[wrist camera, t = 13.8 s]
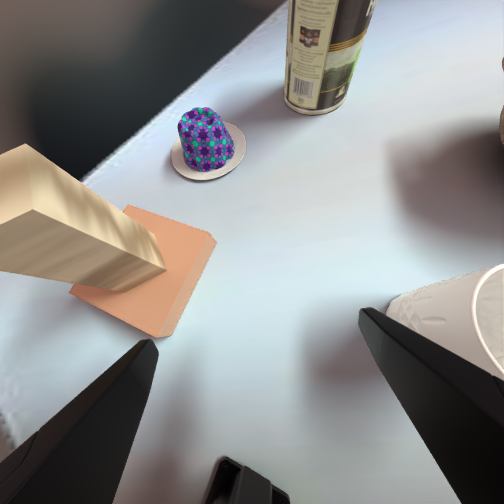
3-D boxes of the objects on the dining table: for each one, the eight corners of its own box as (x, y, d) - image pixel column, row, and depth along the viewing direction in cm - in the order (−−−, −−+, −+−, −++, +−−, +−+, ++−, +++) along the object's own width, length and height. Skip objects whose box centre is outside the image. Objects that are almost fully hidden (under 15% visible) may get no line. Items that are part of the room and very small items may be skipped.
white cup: (392, 372, 18) (518, 429, 9) (369, 290, 21) (447, 267, 12) (481, 367, 18) (713, 421, 8) (445, 283, 20) (592, 253, 11)
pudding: (260, 135, 30) (257, 100, 26) (222, 194, 28) (211, 167, 23) (198, 117, 33) (186, 82, 28) (158, 168, 30) (136, 139, 25)
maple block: (167, 270, 21) (32, 209, 9) (125, 292, 21) (-72, 258, 9) (154, 234, 23) (25, 143, 11) (114, 254, 22) (-62, 182, 10)
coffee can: (346, 73, 33) (396, -94, 20) (346, 116, 30) (406, -48, 16) (285, 74, 34) (294, -80, 21) (279, 115, 31) (285, -36, 18)
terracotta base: (171, 335, 22) (156, 337, 19) (92, 295, 24) (68, 292, 21) (216, 242, 25) (209, 232, 22) (142, 216, 27) (127, 204, 24)
